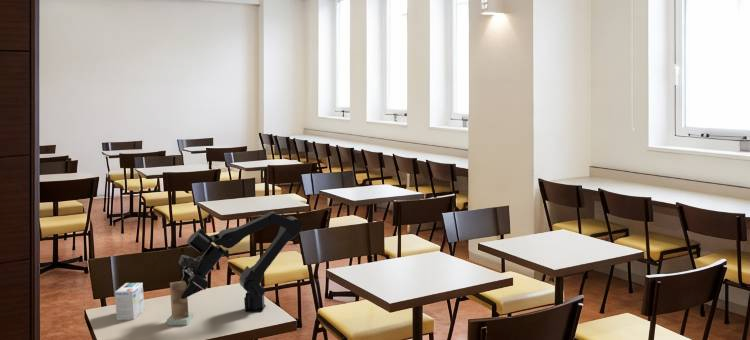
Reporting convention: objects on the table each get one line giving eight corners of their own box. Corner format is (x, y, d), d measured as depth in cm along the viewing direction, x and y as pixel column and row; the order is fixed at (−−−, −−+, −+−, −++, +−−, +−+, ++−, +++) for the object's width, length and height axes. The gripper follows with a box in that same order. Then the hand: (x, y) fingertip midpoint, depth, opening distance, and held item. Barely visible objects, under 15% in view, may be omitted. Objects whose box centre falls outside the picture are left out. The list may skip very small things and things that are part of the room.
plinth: (193, 318, 249) (193, 312, 248) (186, 325, 242) (186, 319, 241) (174, 318, 249) (173, 312, 249) (167, 325, 242) (167, 319, 242)
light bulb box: (127, 310, 259) (125, 282, 258) (145, 309, 259) (143, 282, 257) (116, 320, 248) (113, 291, 247) (134, 320, 248) (132, 291, 247)
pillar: (186, 312, 248) (184, 280, 247) (188, 317, 244) (186, 284, 242) (171, 315, 246) (169, 282, 245) (174, 319, 242) (171, 286, 240)
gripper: (187, 241, 252) (158, 274, 249) (196, 252, 235) (165, 289, 233) (210, 258, 257) (181, 292, 254) (221, 271, 240) (190, 307, 237)
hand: (179, 294), depth 244 cm, fingers open, 9 cm apart
